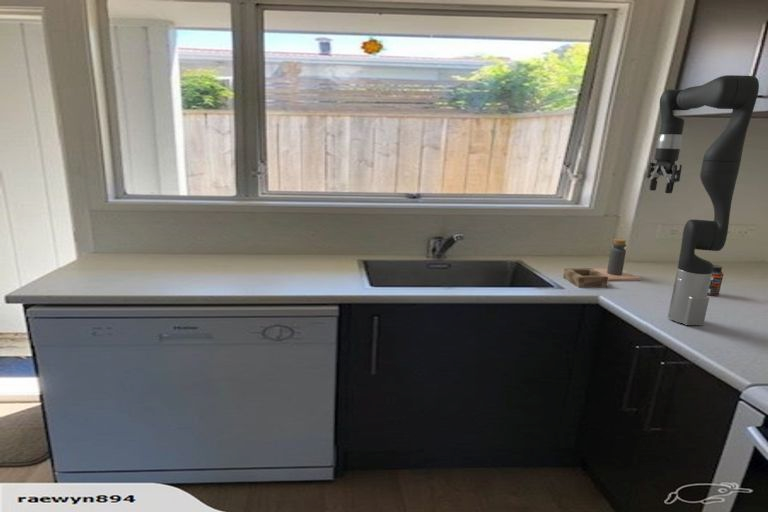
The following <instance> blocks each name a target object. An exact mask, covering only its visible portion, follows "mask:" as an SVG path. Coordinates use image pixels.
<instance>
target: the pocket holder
mask: <svg viewBox="0 0 768 512" xmlns="http://www.w3.org/2000/svg"><path fill="white" fill-rule="evenodd" d="M594 269H595V268H591V267H590V268H587V267H585V268H581V267H580V268H564V270H563V279H565V280H566V279H567V280H566V281H568V282H569V281H570V283H571V284H572V283H573V284H572V285H574V286H575V287H577V286H578V287H577V288H598V287H599V288H602V287H603V288H605V287H606V288H607V285H608V282H609V281H608V277H607V276H605V275H603V274H601V273H600V272H598V271H596V270H594Z"/></svg>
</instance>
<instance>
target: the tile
mask: <svg viewBox="0 0 768 512" xmlns="http://www.w3.org/2000/svg"><path fill="white" fill-rule="evenodd" d="M593 269H594V270H596V271H598V272H600V273H601V274H603V275H605V276H607V277H608V281H607V282H619V281H620V282H622V281H624V282H625V281H627V282H628V281H630V282H631V281H637V282H638V281H640V280H641V278H640V277H638V276H637V275H634V274H632V273H630V272H628V271H626V270H624V269H623V272H622V275H611V274H608V273H607V269H608V268H593Z"/></svg>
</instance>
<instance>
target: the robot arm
mask: <svg viewBox="0 0 768 512" xmlns="http://www.w3.org/2000/svg"><path fill="white" fill-rule="evenodd" d="M759 84H760V82H759V79H758V78H757V77H756V76H754V75H732V74H731V75H721V76H718V77H717V78H714V79H712V80H710V81H708V82H706V83H703V84H702V85H701V84H700V85H696V86H690V87H686V88H684V89H666V90H665V91H663V93H662V94H661V96H660V97H659V108H660V109H659V111H660V118H661V119H660V123H661V124H660V129H659V135H658V139H657V143H656V147H655V155H654V160H655V161H656V162H649V166H648V170H647V176H646V178H647V179H649V180H650V182H649V183H650V184H649V191H656V190H657V185H658V179H659V178H660V177H662V176H663V177H664V178H665V179H666V186H665V190H664V192H665V194H672V193H673V190H674V185H675V183H677V182H680V180H681V175H682V174H681V173H682V167H683V165H682V164H676V162H677V161H679V157H680V151H681V146H682V141H683V140H682V139H683V137H682V136H683V131H684V127H685V120H684V118H682V117H678V116H675V115H674V113H673V111H689V110H692V109H700V108H702V107H705V106H706V107H710V108H714V109H719V110H732V111H731V116H730V118H729V121H728V124H727V126H726V128H725V129H724V130H723V131H722V132H721V134H720V135H719V136H718V137H717V138H716V140H714V142H713V143H712V144H711V145H710V146H709V147H708V149H707V150H706V151H705V153H704V156H703V158H702V163H701V168H700V174H699V177H700V181H701V184H702V185H703V186H702V187H704V190H705V191H706V193H707V195H708V197H709V199H710V201H711V203H712V206H713V212H714V214H713V215H714V216H713V218H714V219H713V220H704V219H689V220H687V221H686V223H685V225H684V227H683V232H682V239H681V244H680V245H681V246H680V252H679V258H678V264H677V269H676V274H675V279H674V283H673V284H674V285H673V289H672V294H671V297H670V298H671V299H670V302H669V303H670V304H669V308H668V309H669V310H668V313H667V318H668V317H669V318H670V319H671V320H670V319H669V318H668V319H669V320H670V321H672V320H674V321H676V322H675V323H677V322H680V323H684V324H686V325H700V326H704V323H705V320H706V319H705V318H706V314H707V310H708V305H709V301H710V297H709V296H708V295H707V294H708V289H709V285H710V280H711V276H712V272H713V265H714V263H712V262H711V261H709V260H706V259H704V258H701V257H700V256H698V255H697V254H696V253H695V250H700V251H709V252H719V251H721V250H722V249H723V248H724V247H725V245H726V241H727V237H728V231H729V225H730V216H731V207H732V201H733V196H734V192H735V187H736V184H737V180H738V175H739V171H740V167H741V161H742V156H743V155H742V154H743V150H744V144H745V142H746V141H745V140H746V137H747V136H746V135H747V131H748V129H749V125H750V122H751V119H752V115H753V112H754V109H755V105H756V102H757V99H758V96H759V95H758V94H759V89H760V85H759ZM674 321H673V322H674ZM680 323H679V324H680Z"/></svg>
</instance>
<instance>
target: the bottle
mask: <svg viewBox="0 0 768 512" xmlns="http://www.w3.org/2000/svg"><path fill="white" fill-rule="evenodd" d="M626 242H627V239H625V238H613V242H612V244H611V245H612V246H613V247H611V248H610V252H609V257H608V258H609V259H608V263H607V268H606V269H607V273H608V274H611V275H622V272H623V270H624V265H625V260H626V253H627V252H626V251H627V250H626V249H625V247H626V246H627V244H626Z"/></svg>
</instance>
